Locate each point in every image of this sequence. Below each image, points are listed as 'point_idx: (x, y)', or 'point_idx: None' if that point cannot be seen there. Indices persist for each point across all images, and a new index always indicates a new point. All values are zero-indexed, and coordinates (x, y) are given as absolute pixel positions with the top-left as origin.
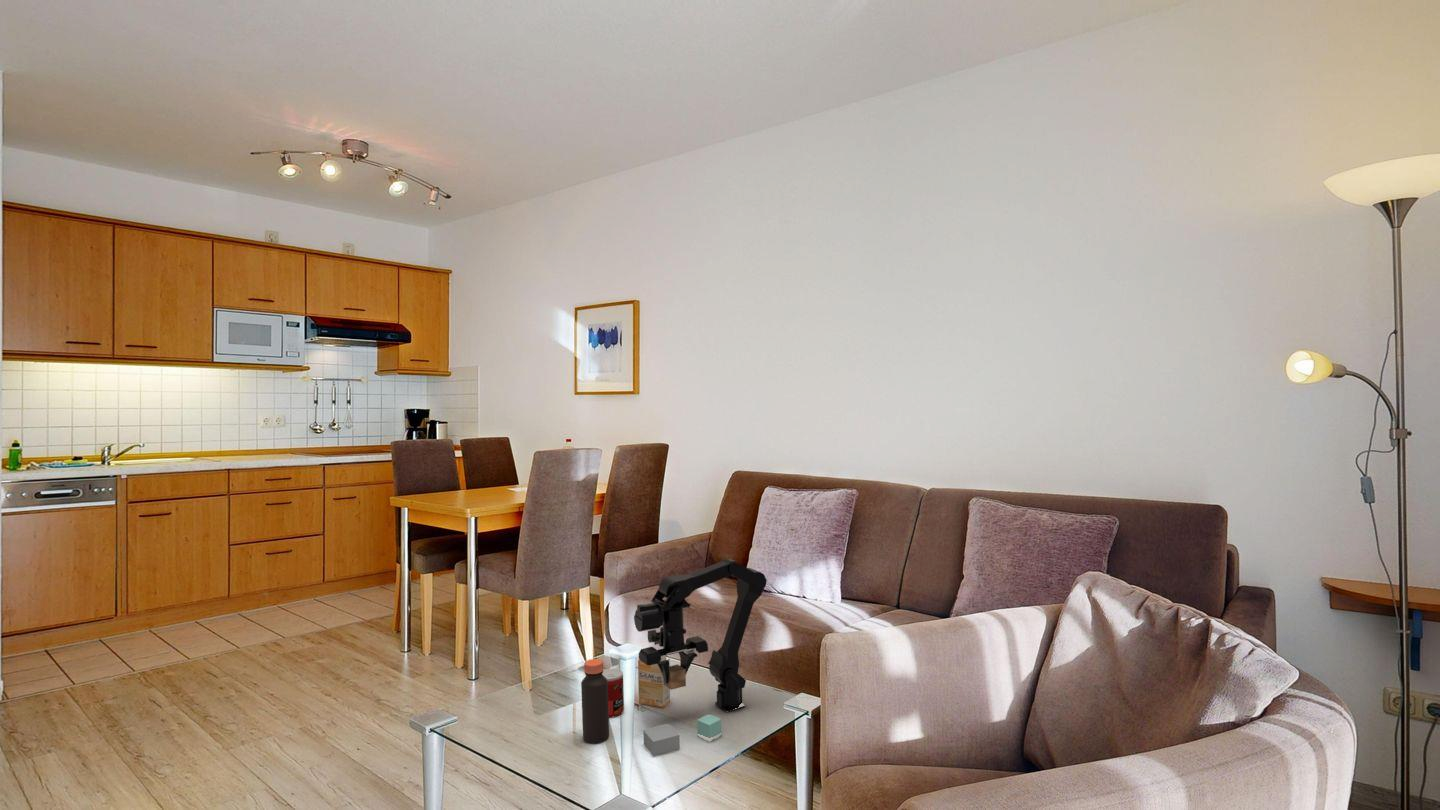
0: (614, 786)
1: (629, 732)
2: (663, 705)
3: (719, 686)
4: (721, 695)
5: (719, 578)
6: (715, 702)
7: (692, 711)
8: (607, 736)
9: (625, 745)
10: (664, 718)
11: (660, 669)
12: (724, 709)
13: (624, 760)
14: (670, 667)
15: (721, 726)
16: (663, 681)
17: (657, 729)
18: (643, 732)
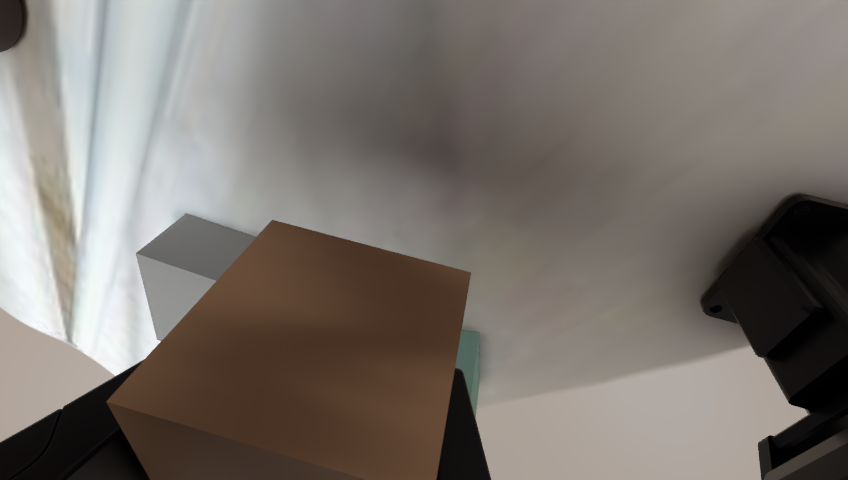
0: (53, 312)
1: (147, 66)
2: None
3: (834, 359)
4: (752, 346)
5: None
6: (798, 202)
7: (598, 146)
8: (2, 45)
9: (108, 161)
10: (397, 81)
11: (21, 447)
12: (713, 294)
13: (92, 242)
14: (241, 469)
15: (475, 414)
16: (254, 241)
17: (201, 295)
18: (144, 249)
